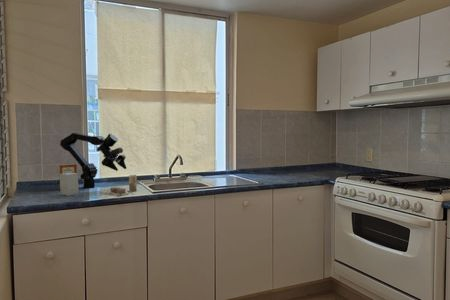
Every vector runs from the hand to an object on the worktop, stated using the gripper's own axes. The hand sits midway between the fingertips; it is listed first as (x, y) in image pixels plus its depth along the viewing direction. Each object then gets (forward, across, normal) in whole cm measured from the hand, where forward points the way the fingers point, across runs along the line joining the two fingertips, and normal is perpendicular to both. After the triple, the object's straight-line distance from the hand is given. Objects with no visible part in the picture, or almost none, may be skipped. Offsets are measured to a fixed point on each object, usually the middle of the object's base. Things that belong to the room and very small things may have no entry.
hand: (121, 169), depth 219 cm
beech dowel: (+15, 0, +3) cm, 15 cm away
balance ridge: (+13, -12, +5) cm, 19 cm away
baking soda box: (-15, -8, +35) cm, 38 cm away
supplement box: (-5, -22, +25) cm, 34 cm away
